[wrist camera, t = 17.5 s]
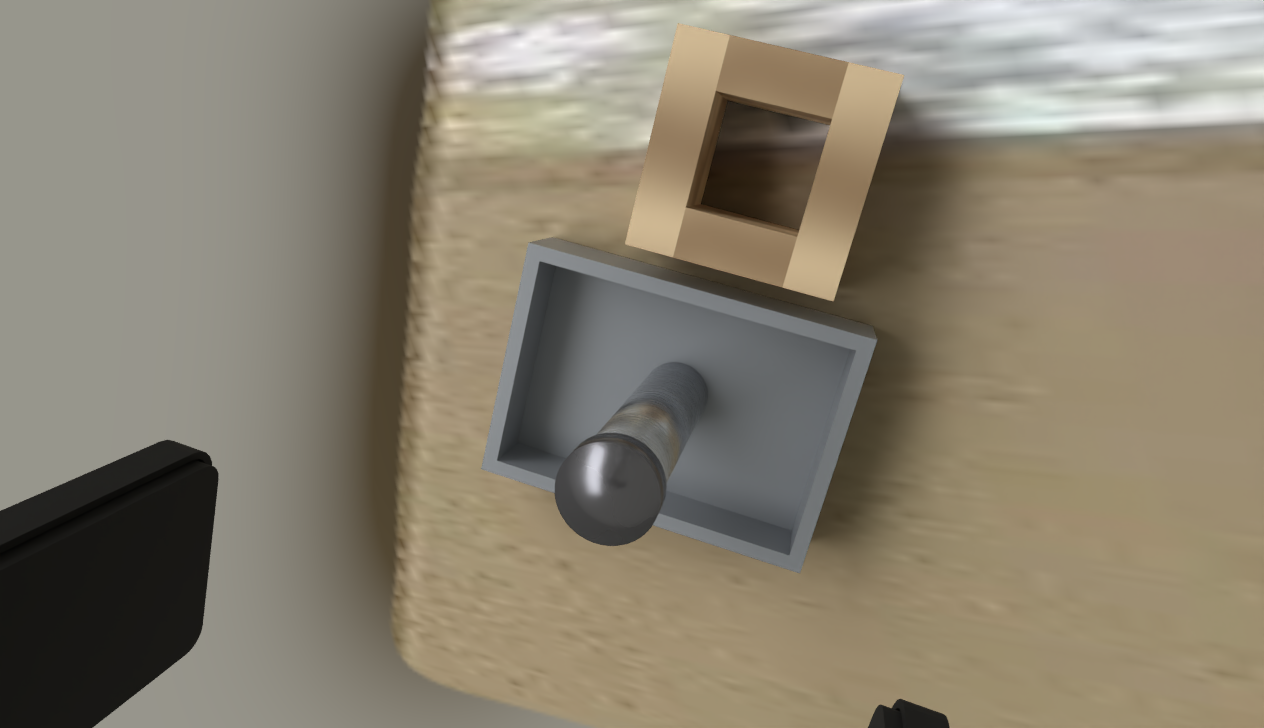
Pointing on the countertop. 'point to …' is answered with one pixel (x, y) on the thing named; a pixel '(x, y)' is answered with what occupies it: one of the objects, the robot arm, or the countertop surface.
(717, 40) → the block
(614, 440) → the cylinder
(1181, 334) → the countertop surface
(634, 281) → the tray
